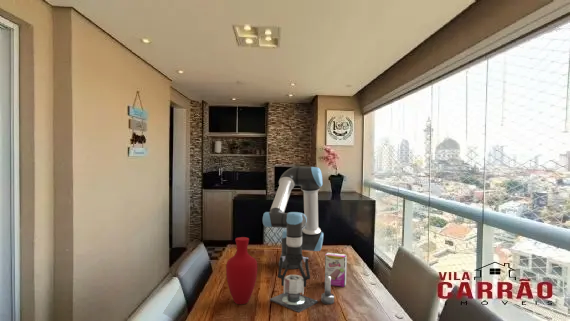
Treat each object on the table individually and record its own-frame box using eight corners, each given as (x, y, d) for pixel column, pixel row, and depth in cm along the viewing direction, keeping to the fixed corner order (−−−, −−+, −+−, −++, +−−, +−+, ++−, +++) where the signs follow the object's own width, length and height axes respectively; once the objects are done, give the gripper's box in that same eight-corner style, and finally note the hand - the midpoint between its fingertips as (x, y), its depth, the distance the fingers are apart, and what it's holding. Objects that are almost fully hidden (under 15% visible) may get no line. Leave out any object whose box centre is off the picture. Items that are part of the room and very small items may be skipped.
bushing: (284, 293, 150) (284, 280, 150) (286, 286, 158) (286, 274, 158) (301, 294, 149) (301, 281, 149) (302, 287, 157) (302, 275, 157)
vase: (229, 311, 143) (230, 243, 143) (222, 298, 156) (223, 236, 157) (261, 305, 149) (262, 240, 149) (251, 293, 162) (252, 233, 162)
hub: (269, 300, 154) (270, 279, 154) (288, 292, 165) (289, 272, 165) (299, 312, 142) (299, 289, 142) (317, 302, 153) (317, 281, 153)
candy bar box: (324, 284, 175) (324, 254, 175) (326, 281, 180) (326, 252, 180) (345, 287, 171) (345, 256, 171) (346, 284, 176) (346, 254, 176)
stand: (318, 301, 153) (319, 276, 154) (325, 297, 158) (326, 273, 158) (329, 305, 149) (329, 279, 150) (336, 301, 154) (336, 276, 154)
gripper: (271, 246, 151) (270, 294, 151) (316, 248, 149) (315, 297, 149) (273, 242, 158) (273, 288, 158) (316, 244, 156) (315, 291, 156)
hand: (293, 292), depth 153 cm, fingers closed on bushing, 8 cm apart
